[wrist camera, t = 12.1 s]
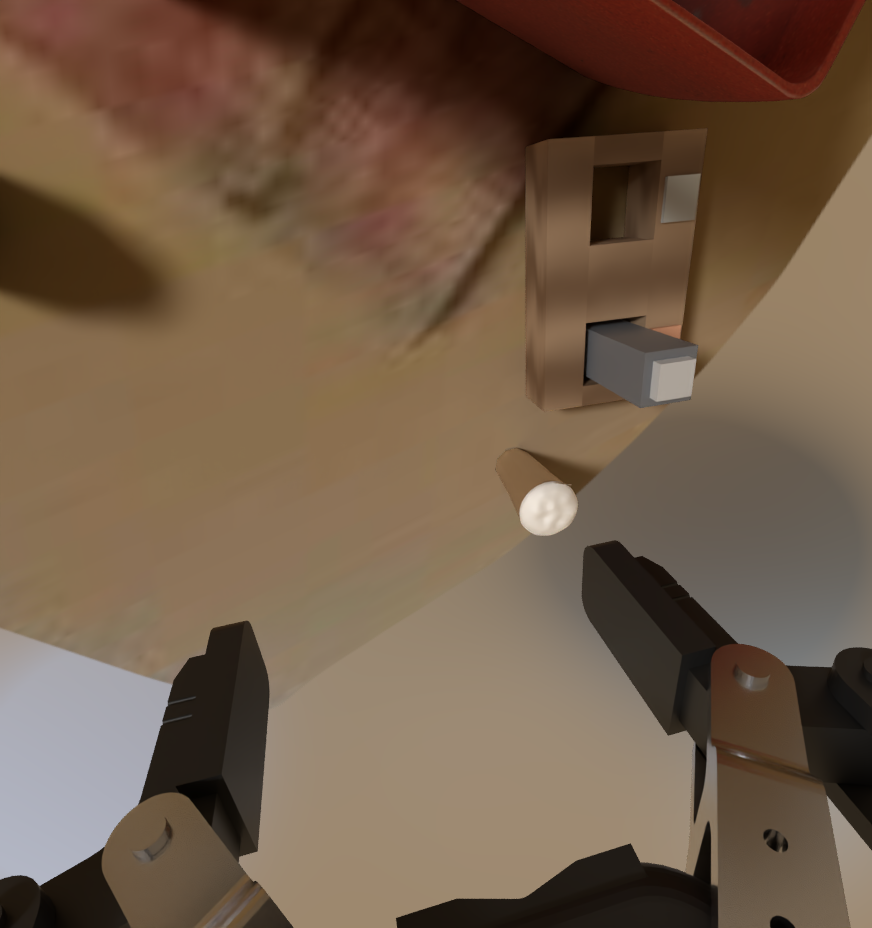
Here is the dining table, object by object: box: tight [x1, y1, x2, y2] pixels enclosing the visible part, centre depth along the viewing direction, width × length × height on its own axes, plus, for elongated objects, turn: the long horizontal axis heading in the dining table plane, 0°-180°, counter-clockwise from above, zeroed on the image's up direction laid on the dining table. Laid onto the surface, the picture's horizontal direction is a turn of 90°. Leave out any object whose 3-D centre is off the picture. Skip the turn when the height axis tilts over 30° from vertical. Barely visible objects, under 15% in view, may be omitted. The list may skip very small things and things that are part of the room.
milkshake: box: [495, 448, 578, 535], centre depth 42 cm, size 4×5×10 cm
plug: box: [583, 319, 698, 408], centre depth 38 cm, size 4×4×12 cm
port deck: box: [525, 128, 708, 412], centre depth 39 cm, size 18×11×4 cm, turn 5°
